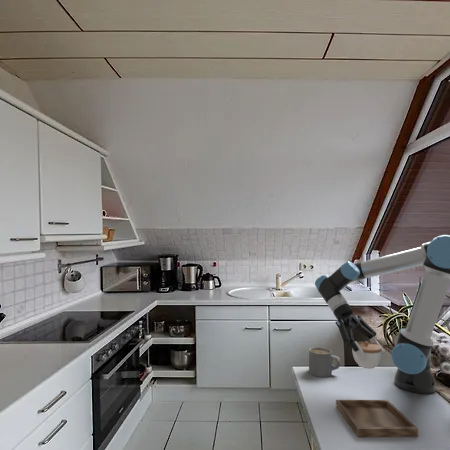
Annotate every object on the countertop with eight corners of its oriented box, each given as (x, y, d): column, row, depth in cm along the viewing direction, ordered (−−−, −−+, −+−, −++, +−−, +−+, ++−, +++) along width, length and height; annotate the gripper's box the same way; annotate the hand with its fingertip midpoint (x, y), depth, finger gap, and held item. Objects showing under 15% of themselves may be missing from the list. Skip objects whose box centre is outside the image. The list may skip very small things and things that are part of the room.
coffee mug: (306, 374, 159) (306, 351, 159) (312, 366, 167) (312, 345, 167) (337, 380, 152) (337, 357, 152) (341, 372, 161) (341, 350, 161)
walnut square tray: (387, 406, 130) (387, 399, 130) (417, 436, 111) (418, 428, 111) (336, 406, 129) (336, 399, 129) (358, 437, 110) (358, 428, 110)
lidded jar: (384, 372, 133) (384, 346, 133) (354, 369, 135) (354, 344, 135) (378, 362, 144) (378, 338, 144) (350, 359, 146) (350, 336, 146)
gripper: (352, 310, 159) (384, 355, 146) (316, 316, 147) (347, 366, 133) (363, 300, 155) (397, 345, 141) (326, 305, 142) (359, 356, 129)
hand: (373, 355), depth 137 cm, fingers closed on lidded jar, 11 cm apart
